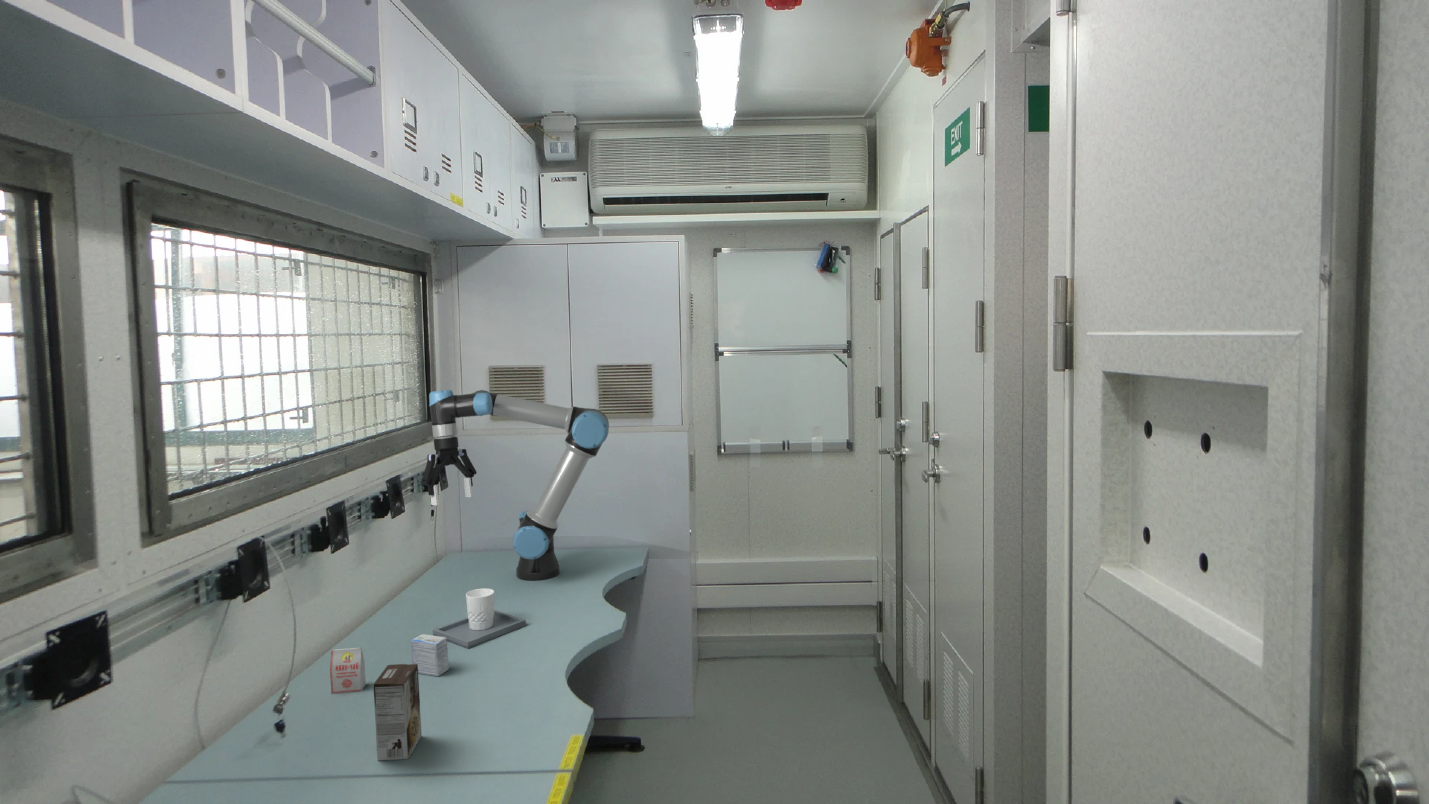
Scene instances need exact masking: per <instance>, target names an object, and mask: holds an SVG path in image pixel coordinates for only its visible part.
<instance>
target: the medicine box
mask: <svg viewBox="0 0 1429 804" xmlns="http://www.w3.org/2000/svg"><path fill="white" fill-rule="evenodd" d="M410 647H411V664H418V674H421V675H426V676H427V675H428V676H434V677H439V676H441V675H443V674H445V673H446V672H447V671H448V670H449V669H450V667H449V651H448V650H449V649H448V641H447V638H446V637H440V636H433V634H425V633H423V634H420V635H417V637H415V638H412V639H411V640H410Z"/></svg>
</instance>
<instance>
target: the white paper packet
mask: <svg viewBox="0 0 1429 804" xmlns="http://www.w3.org/2000/svg"><path fill="white" fill-rule="evenodd" d="M329 673H330V675H329V676H330V677H329V678H330V691H331V693H330V694H332V695H333V694H343V693H354V692H362V691H363V689H364V688H365V686H366V684H367V683H366V664H365V658H364V654H363V648H362V647H353V648H352V647H350V648H340V649H339V648H337V649H331V650H330V665H329Z"/></svg>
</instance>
